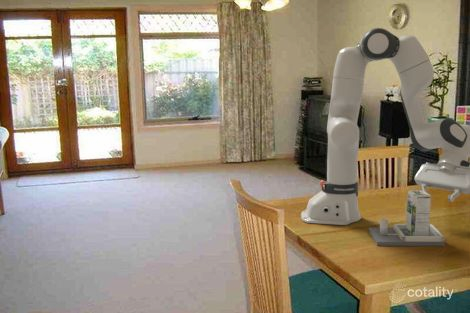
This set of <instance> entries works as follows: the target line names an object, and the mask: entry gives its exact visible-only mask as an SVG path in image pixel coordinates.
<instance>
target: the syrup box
mask: <svg viewBox="0 0 470 313" xmlns="http://www.w3.org/2000/svg"><path fill="white" fill-rule="evenodd" d="M431 198H432V195H431V194H429V193H426V192H425V191H422V190H421V189H420V190H418V189H417V190H415V189H414V190H407V201H406V204H407V205H406V215H405V216H406V219H405V224H406V232H407V233H408V234H409V235H410V236H428V235H429V224H430V216H431V215H430V214H431Z"/></svg>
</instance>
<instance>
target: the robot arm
mask: <svg viewBox="0 0 470 313" xmlns="http://www.w3.org/2000/svg"><path fill="white" fill-rule="evenodd" d="M385 59H388V60H390V61H391V62H392V64H393V65H394V67H395V69H396V72H397V74H398V76H399V80H400V85H401V88H400V91H399V95H400V100H401V104H402V108H403V111H404V114H405V117H406V120H407V124H408V128H409V132H410V138H411V139H410V141H411V143H412V144H413V146H414V147H415V149H417V150H419V151H421V152H429V151H431V150H434V149H442V150H443V152H442V153H441V155H440V157H439V160H438V162H437V163H431V162H426V163H424V164H423V163H422V164H421V166H420V168H419V170H418V171H417V172H416V174H415V175H414V181H415V183H416V185H417V186H421V189H422V190H421V191H425V192H426V193H428V191H427V189H428V188H433V189H438V190H444V191H449V192H453V193H452V194H448V196H447V198H446V200H447V201H448V202H451V203H453V202H454V201H455V199H456V198H458V197H459V196H460V195H461V193H462V194H466V195H467V194H468V195H470V161H469V158H470V125H468V124H460V123H459V122H458V121H456V120H455V119H453V118H449V117H448V118H444V119H443V118H442V119H438V120H434V121H432V122H428V121H426V119H425V117H424V112H423V109H422V106H421V102H420V99H421V96H422V94H423V93H424V91H426V89H428V87H430V85H431V84H432V83H433V80H434V75H435V72H434V67H433V64H432V62H431V60H430V58H429V56H428V54H427V52H426V50H425V48H424V47H423V45H422V44H421V43H420V41H419V40H418V38H417V37H415V35H411V34H410V35H408V34H407V35H403V36H400V37H398V36H397V35H394V34H393V33H391V31H389V30H388V29H385V28H382V27H375V28H374V27H373V28H371V29H370V30H368V31H366V32H365V33H364V35H362V37H361V39H360V41H359V42H358V43H357V45H356V46H346V47H343V48H342V49H340V50H339V52H338V53H337V57H336V60H335V63H334V68H333V74H332V84H331V85H332V86H331V93H330V100H329V101H330V102H329V107H328V117H327V126H326V134H327V157H326V158H327V161H326V163H327V164H326V166H327V168H326V181H324V180H323V179H322V180H320V181H319V185H320V186H321V190H320V191H319V192H318V193H317V194H315V195H314V196H312V197H310V199H309V200H308V203H307V206H306V209H304V210H302V211H301V214H300V218H301V220H302V221H303V222H305V223H307V224H319V225H321V224H323V225H336V226H337V225H340V226H347V225H350V224H351V223H355V222H358V221H360V220H361V219H362V218H361V213H360V210H359V203H358V202H359V201H358V197H359V182H358V157H359V149H360V148H359V145H360V127H359V126H358V119H359V115H360V110H361V104H362V100H363V90H364V81H365V73H366V68H367V65H368V64H369V63H370V62H378V61H381V60H385ZM428 194H429V193H428Z"/></svg>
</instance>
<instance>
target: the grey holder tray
mask: <svg viewBox="0 0 470 313" xmlns="http://www.w3.org/2000/svg"><path fill="white" fill-rule="evenodd" d="M388 222H389V221H388V219H386V218H380V219H379V227H368V232H369V234H370V236H371V237H372V239H373V241H374V243H375V245H376V246H381V247H383V246H384V247H385V246H387V247H389V246H391V247H392V246H398V247H399V246H401V247H402V246H403V247H404V246H406V247H408V246H410V247H411V246H413V247H418V246H419V247H420V246H421V247H422V246H423V247H425V246H426V247H436V246H437V247H445V246H446V242H445V236H444V235H443V234H442V232H440V231H439V230H438V229H437V228H436V226H434V225H433V224H432V223H429V235H428V236H410V235H409V234H408V233H407V232H406V223H392V227H389V224H388Z"/></svg>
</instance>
